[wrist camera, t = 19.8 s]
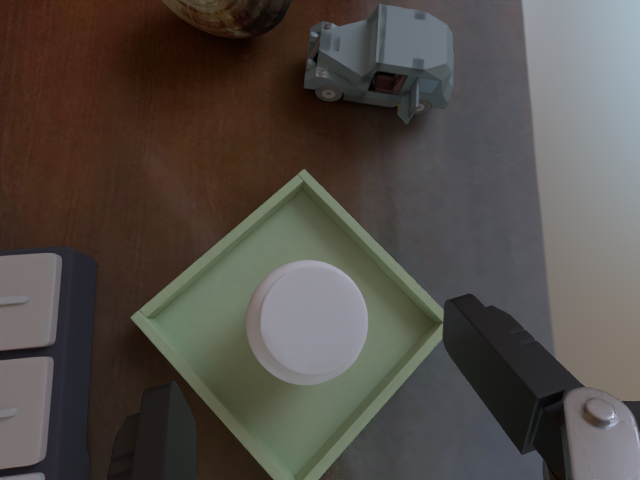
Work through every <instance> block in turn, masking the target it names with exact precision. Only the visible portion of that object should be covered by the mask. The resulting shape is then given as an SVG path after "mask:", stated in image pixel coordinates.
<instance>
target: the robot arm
mask: <svg viewBox="0 0 640 480" xmlns="http://www.w3.org/2000/svg"><path fill="white" fill-rule="evenodd" d="M442 337H443V342H444V346H445V348H446V350H447V352H448V354H449V356H450V357H451V359H452V360H453V361H454V363H455V364H456V365H457V367H458V368H459V369H460V371H461V372H462V374H463V375H464V376H465V378H466V379H467V380H468V382H469V383H470V385H471V386H472V387H473V389H474V390H475V391H476V393H477V394H478V395H479V397H480V398H481V400H482V401H483V402H484V404H485V405H486V406H487V408H488V409H489V410H490V412H491V413H492V415H493V416H494V417H495V419H496V420H497V421H498V423H499V424H500V426H501V427H502V428H503V430H504V431H505V432H506V434H507V435H508V436H509V438H510V439H511V441H512V442H513V443H514V445H515V446H516V447H517V449H518V450H519V451H520V453H521V454H522V455H523V454H526V453H529V452H531V451H534V450H537V451H538V453H539V454H540V455H541V457H542V458H543V466H542V467H543V480H640V401H620V400H619V399H617V398H616V397H614V396H613V395H611V394H609V393H607V392H604V391H602V390H599V389H595V388H589V387H585V386H583V385H582V384H581V383H580V382H579V381H578V380H577V379H576V378H575V377H574V376H573V375H572V374H571V373H570V372H569V371H567V370H566V369H565V368H564V367H563V366H562V365H561V364H560V363H559V362H558V361H557V360H556V359H555V358H554V357H553V356H552V355H551V354H550V353H549V352H548V351H547V350H546V349H545V348H544V347H543V346H542V345H541V344H540V343H539V342H538V341H535V340H534V338H533V337H532V336H531V335H530V334H529V333H528V332H527V331H525V330H524V329H523V327H522V326H521V325H520V324H519V323H518V322H517V321H516V320H515V319H514V318H513V317H512V316H511V315H509V314H507V313H506V312H504V311H502V310H500V309H498V308H496V307H494V306H489V307H485V306H484V305H483V304H482V303H481V302H480V301H479V300H478V299H477V298H476V297H475V296H474V295H472V294H466V295H463V296H460V297H456V298H453V299H450V300H447V301H445V304H444V316H443V333H442ZM196 465H197V433H196V425H195V420H194V417H193V414H192V412H191V410H190V408H189V406H188V404H187V402H186V400H185V398H184V396H183V394H182V392H181V390H180V388H179V386H178V385H177V383H176V382H175V381H171V382H168V383H165V384H161V385H158V386H155V387H151V388H148V389H145V390H144V392H143V396H142V402H141V409H140V413H137V414H133V415H130V416H127V418H126V419H125V421H124V423H123V425H122V426H121V428H120V430H119V432H118V433H117V435H116V437H115V441H114V446H113V451H112V456H111V463H110V466H109V471H108V476H107V478H108V480H196Z"/></svg>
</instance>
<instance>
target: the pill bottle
mask: <svg viewBox="0 0 640 480" xmlns="http://www.w3.org/2000/svg"><path fill="white" fill-rule="evenodd" d="M367 331H368V313H367V308H366V304H365V301H364V298H363V296H362V294H361V292H360V290H359V289H358V287H357V285H356V284H355V283H354V281H353V280H352V279H351V278H350V277H349V276H348V275H347V274H345V273H344V272H343V271H341V270H340V269H338V268H336V267H335V266H333V265H330V264H328V263H325V262H321V261H315V260H301V261H295V262H291V263H287V264H285V265H282V266H280V267H278V268H276V269H275V270H273V271H272V272H270V273H269V274H268V275H267V276H266V277H265V278H264V279H263V280H262V281H261V282H260V283H259V285H258V286H257V287H256V289H255V291H254V292H253V294H252V296H251V299H250V301H249V304H248V308H247V313H246V332H247V337H248V341H249V344H250V347H251V349H252V351H253V353H254V355H255V357H256V358H257V360H258V361H259V362H260V364H261V365H262V366H263V367H264V368H265V369H266V370H267V371H269V372H270V373H271V374H272V375H274V376H275V377H277V378H279V379H281V380H283V381H286V382H288V383H292V384H296V385H315V384H320V383H324V382H327V381H330V380H332V379H334V378H336V377H338V376H339V375H341V374H342V373H344V372H345V371H346V370H347V369H348V368H349V367H350V366H351V365H352V364H353V363H354V362H355V360H356V359H357V357H358V356H359V354H360V352H361V350H362V348H363V346H364V344H365V340H366V337H367Z"/></svg>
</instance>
